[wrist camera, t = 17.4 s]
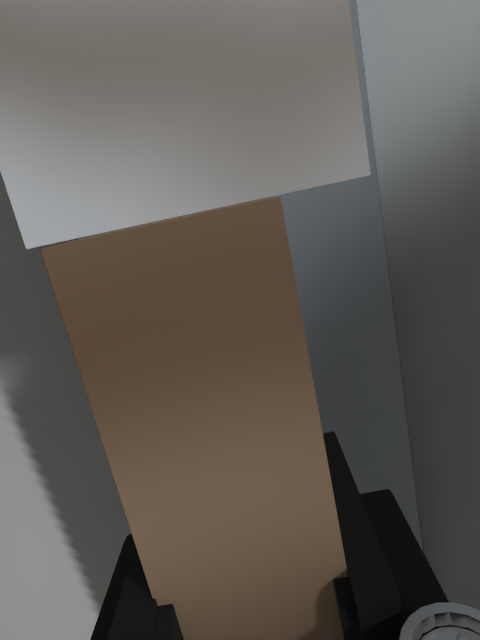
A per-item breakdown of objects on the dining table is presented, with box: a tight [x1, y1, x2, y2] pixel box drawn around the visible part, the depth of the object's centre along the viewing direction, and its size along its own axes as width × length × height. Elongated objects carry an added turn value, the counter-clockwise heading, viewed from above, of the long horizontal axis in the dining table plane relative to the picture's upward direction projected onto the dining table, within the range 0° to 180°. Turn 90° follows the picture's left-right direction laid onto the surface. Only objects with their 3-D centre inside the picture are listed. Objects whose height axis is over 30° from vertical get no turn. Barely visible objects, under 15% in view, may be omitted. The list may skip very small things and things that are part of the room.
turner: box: [0, 0, 371, 640], centre depth 8 cm, size 21×6×4 cm, turn 12°
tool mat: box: [76, 0, 423, 551], centre depth 14 cm, size 25×9×1 cm, turn 12°
